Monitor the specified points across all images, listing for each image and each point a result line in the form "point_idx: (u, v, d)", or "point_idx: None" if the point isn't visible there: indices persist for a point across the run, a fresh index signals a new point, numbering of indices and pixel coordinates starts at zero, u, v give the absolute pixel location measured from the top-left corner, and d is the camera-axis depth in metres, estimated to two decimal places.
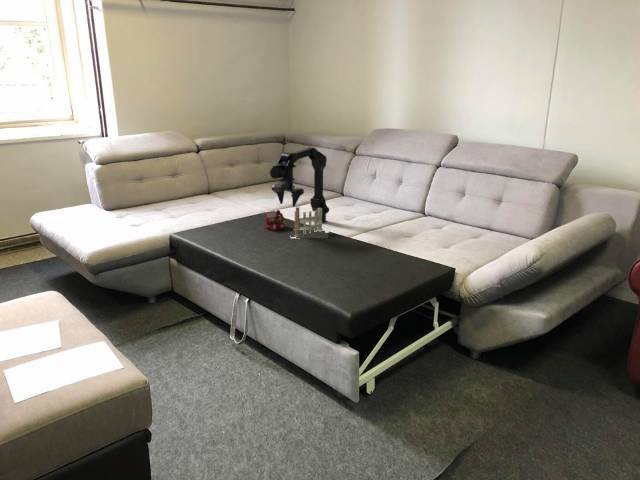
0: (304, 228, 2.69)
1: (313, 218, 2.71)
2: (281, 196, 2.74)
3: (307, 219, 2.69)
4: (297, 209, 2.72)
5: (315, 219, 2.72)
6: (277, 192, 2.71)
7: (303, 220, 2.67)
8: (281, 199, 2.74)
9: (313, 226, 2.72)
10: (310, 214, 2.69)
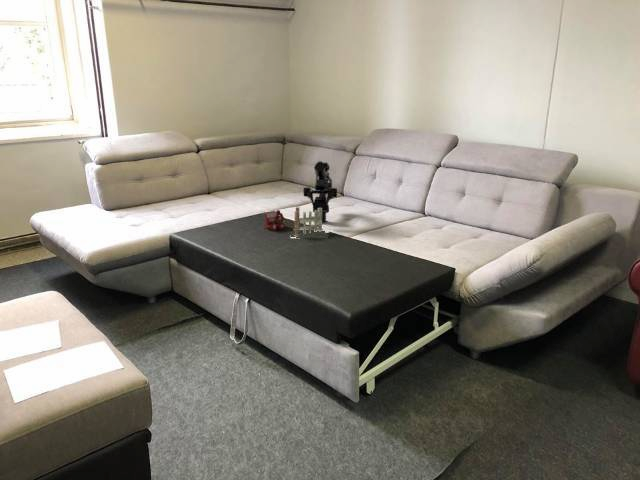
0: (304, 228, 2.69)
1: (313, 218, 2.71)
2: None
3: (307, 219, 2.69)
4: (297, 209, 2.72)
5: (315, 219, 2.72)
6: (312, 192, 2.80)
7: (303, 220, 2.67)
8: None
9: (313, 226, 2.72)
10: (310, 214, 2.69)
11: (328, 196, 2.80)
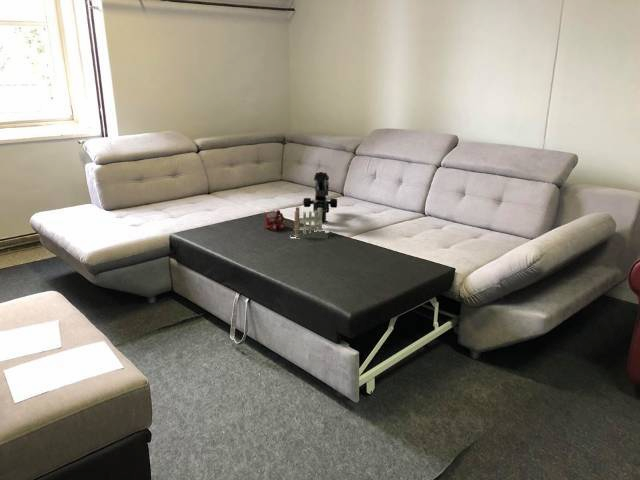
0: (304, 228, 2.69)
1: (313, 218, 2.71)
2: None
3: (307, 219, 2.69)
4: (297, 209, 2.72)
5: (315, 219, 2.72)
6: (319, 203, 2.79)
7: (303, 220, 2.67)
8: None
9: (313, 226, 2.72)
10: (310, 214, 2.69)
11: (322, 206, 2.79)
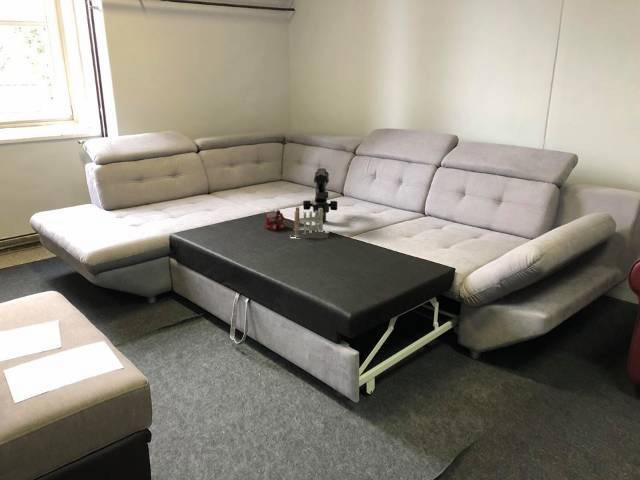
0: (304, 228, 2.69)
1: (314, 218, 2.70)
2: None
3: (307, 219, 2.68)
4: (297, 209, 2.72)
5: (316, 219, 2.71)
6: (318, 205, 2.75)
7: (303, 220, 2.67)
8: None
9: (314, 226, 2.72)
10: (310, 214, 2.69)
11: (323, 209, 2.75)
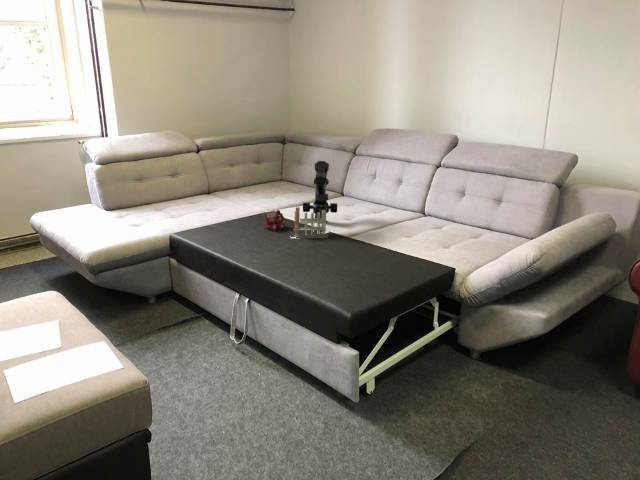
0: (305, 229, 2.68)
1: (315, 220, 2.67)
2: None
3: (308, 220, 2.66)
4: (297, 209, 2.72)
5: (318, 221, 2.68)
6: (318, 208, 2.70)
7: (304, 221, 2.66)
8: None
9: (315, 228, 2.69)
10: (312, 215, 2.66)
11: None
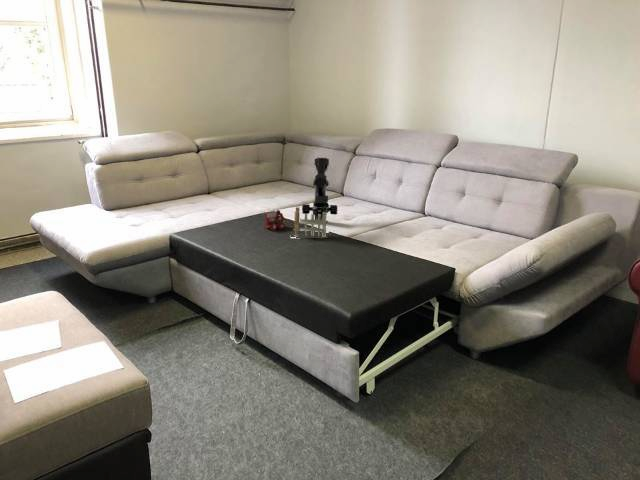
0: (305, 230, 2.66)
1: (315, 221, 2.64)
2: None
3: (308, 221, 2.64)
4: (297, 209, 2.72)
5: (318, 223, 2.64)
6: (318, 209, 2.66)
7: (303, 221, 2.65)
8: None
9: (315, 230, 2.65)
10: (312, 217, 2.64)
11: (321, 213, 2.66)
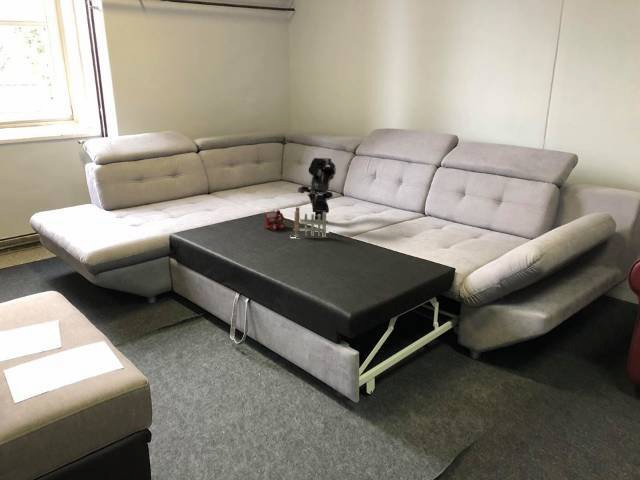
0: (305, 230, 2.66)
1: (315, 221, 2.64)
2: None
3: (308, 221, 2.64)
4: (297, 209, 2.72)
5: (318, 223, 2.64)
6: (315, 194, 2.76)
7: (303, 221, 2.65)
8: None
9: (315, 230, 2.65)
10: (312, 217, 2.64)
11: (317, 199, 2.77)
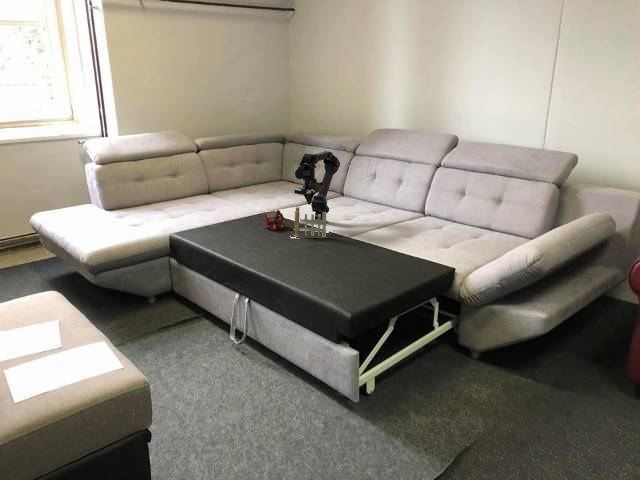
0: (305, 230, 2.66)
1: (315, 221, 2.64)
2: None
3: (308, 221, 2.64)
4: (297, 209, 2.72)
5: (318, 223, 2.64)
6: (311, 193, 2.79)
7: (303, 221, 2.65)
8: None
9: (315, 230, 2.65)
10: (312, 217, 2.64)
11: (312, 195, 2.81)
